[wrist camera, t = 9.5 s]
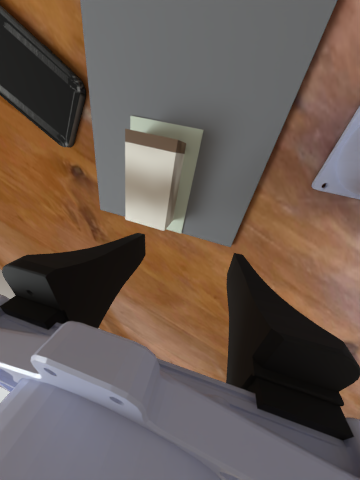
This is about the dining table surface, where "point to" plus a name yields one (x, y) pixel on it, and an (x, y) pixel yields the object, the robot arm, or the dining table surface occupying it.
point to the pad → (189, 163)
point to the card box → (152, 178)
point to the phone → (39, 82)
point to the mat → (199, 90)
